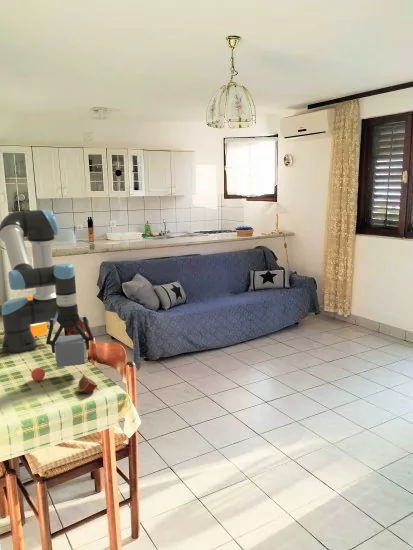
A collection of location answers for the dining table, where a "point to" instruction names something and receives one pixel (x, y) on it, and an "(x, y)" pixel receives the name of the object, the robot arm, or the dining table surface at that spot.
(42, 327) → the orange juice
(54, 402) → the dining table surface
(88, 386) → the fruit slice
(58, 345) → the slate gray cube
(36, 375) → the ball
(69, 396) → the dining table surface
